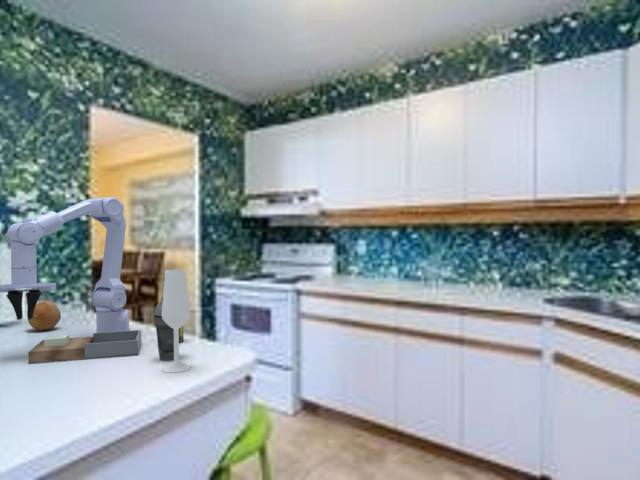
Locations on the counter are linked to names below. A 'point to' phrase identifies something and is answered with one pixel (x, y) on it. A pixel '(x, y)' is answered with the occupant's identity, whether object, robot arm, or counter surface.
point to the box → (113, 344)
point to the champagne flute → (175, 311)
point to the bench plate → (59, 351)
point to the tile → (56, 340)
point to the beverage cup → (164, 335)
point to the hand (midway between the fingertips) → (25, 318)
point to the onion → (45, 316)
